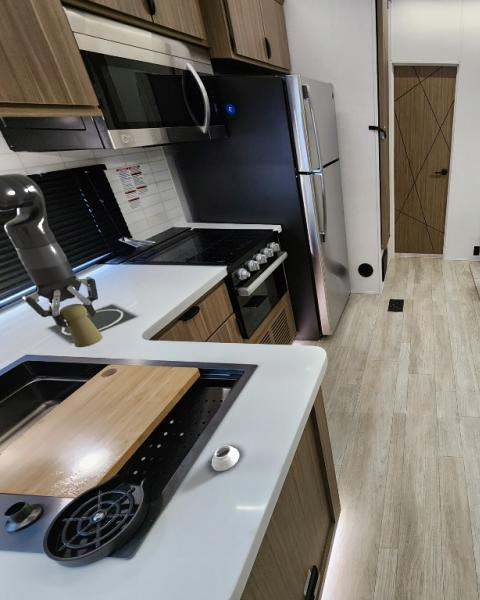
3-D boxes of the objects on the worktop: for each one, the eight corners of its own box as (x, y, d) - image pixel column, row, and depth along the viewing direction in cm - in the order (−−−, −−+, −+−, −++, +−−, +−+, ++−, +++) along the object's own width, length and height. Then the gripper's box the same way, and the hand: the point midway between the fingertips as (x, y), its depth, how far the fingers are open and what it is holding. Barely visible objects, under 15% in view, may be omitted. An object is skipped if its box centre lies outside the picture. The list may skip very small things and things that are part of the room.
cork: (106, 339, 92) (88, 304, 87) (78, 350, 87) (58, 314, 82) (98, 332, 95) (81, 298, 90) (71, 342, 91) (51, 307, 85)
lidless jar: (217, 477, 65) (243, 460, 68) (213, 467, 64) (239, 451, 67) (209, 460, 68) (234, 445, 71) (205, 451, 67) (230, 436, 70)
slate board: (73, 343, 105) (72, 341, 105) (51, 328, 113) (49, 326, 113) (135, 317, 119) (135, 316, 118) (112, 306, 127) (111, 304, 126)
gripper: (76, 250, 87) (103, 306, 95) (-1, 269, 76) (37, 330, 84) (88, 255, 84) (116, 313, 92) (9, 275, 73) (48, 338, 81)
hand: (78, 321), depth 88 cm, fingers closed on cork, 5 cm apart
